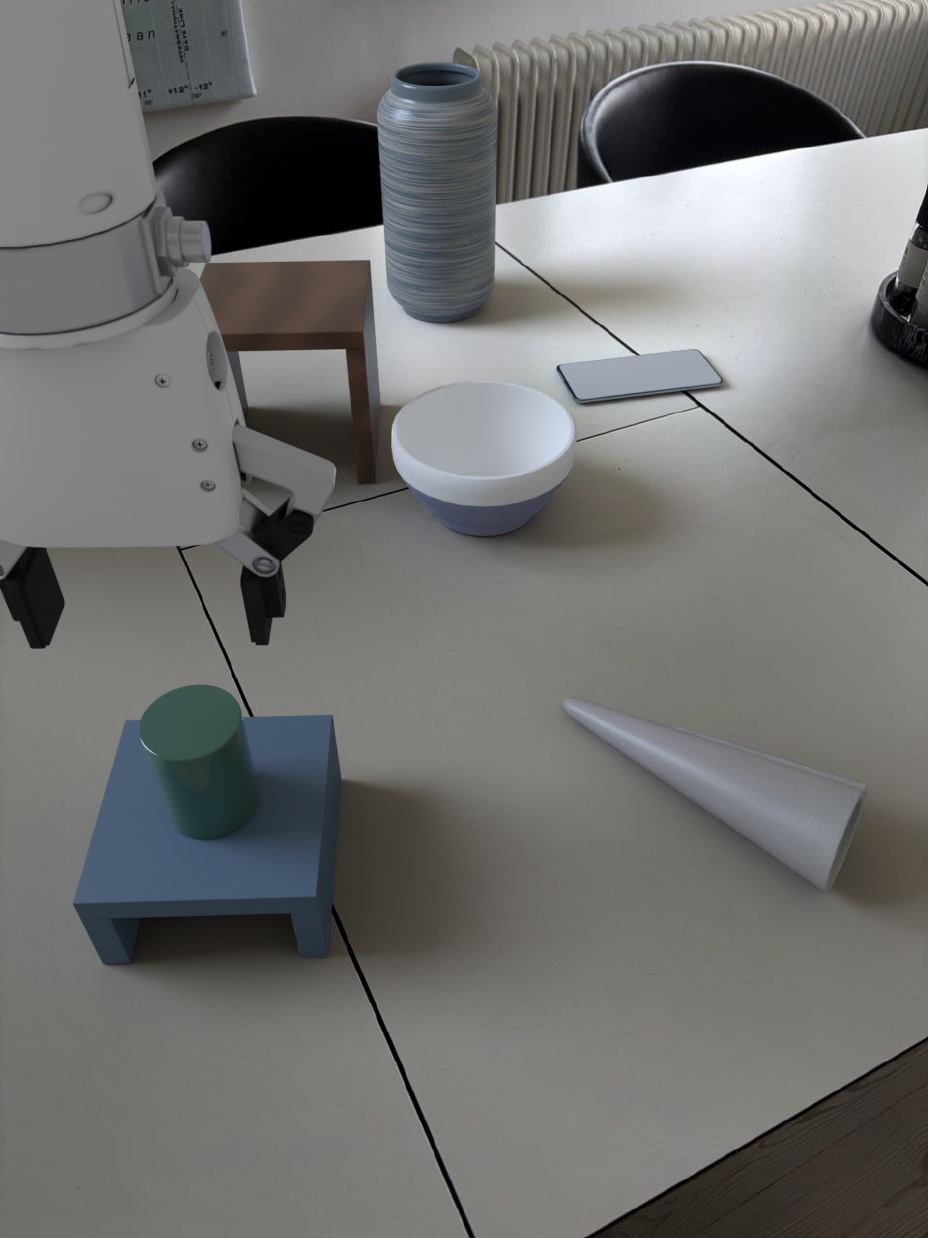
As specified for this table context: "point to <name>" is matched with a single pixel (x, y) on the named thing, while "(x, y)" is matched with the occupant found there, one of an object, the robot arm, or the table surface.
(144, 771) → the lower shelf
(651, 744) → the long tapered cone
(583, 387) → the smartphone
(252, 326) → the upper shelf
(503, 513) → the bowl
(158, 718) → the jar
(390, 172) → the vase
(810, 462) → the table surface
